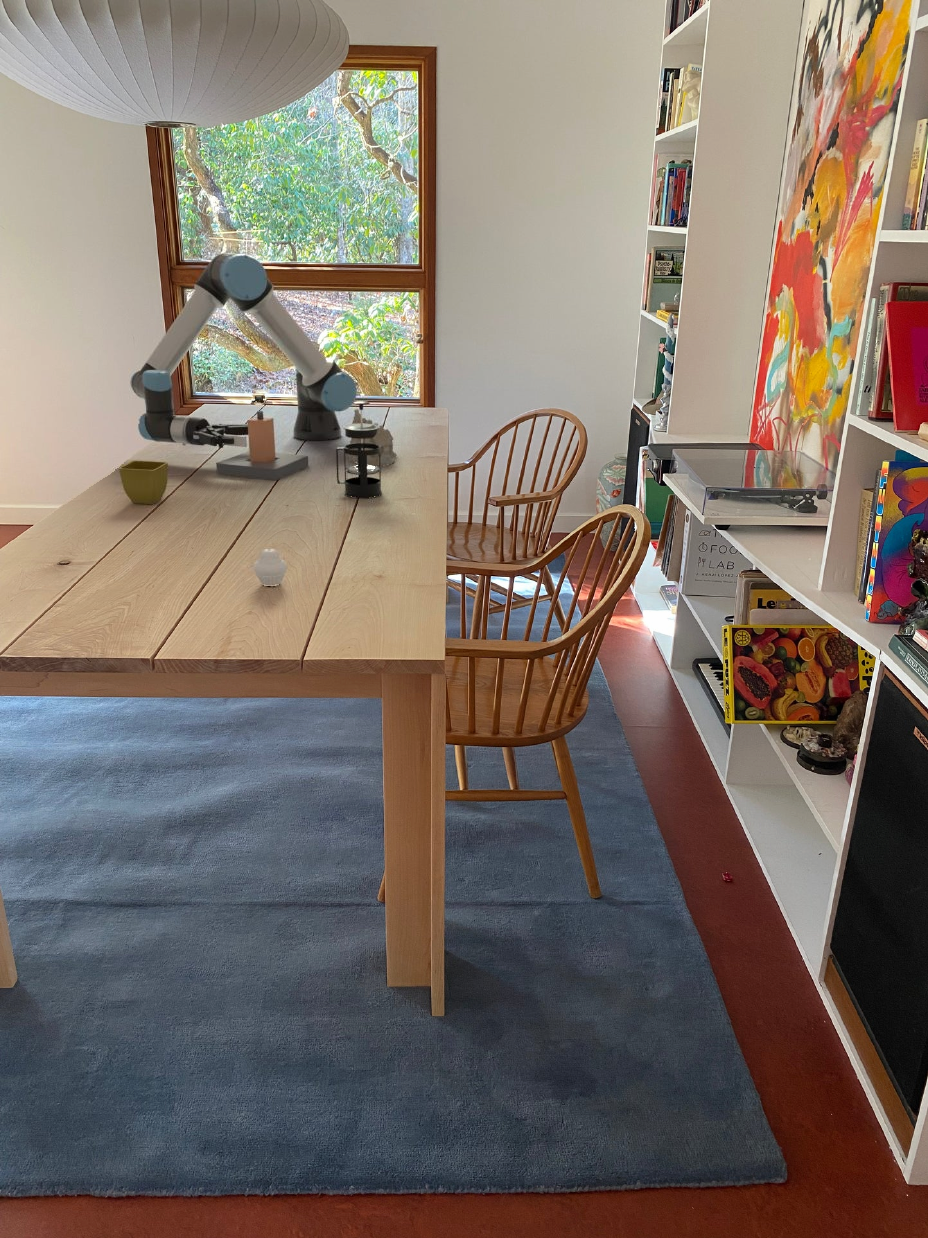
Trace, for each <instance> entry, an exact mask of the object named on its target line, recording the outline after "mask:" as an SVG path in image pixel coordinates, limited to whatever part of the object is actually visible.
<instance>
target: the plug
mask: <svg viewBox="0 0 928 1238" xmlns="http://www.w3.org/2000/svg"><path fill="white" fill-rule="evenodd" d="M247 424H248V435H247V436H248V447H249V448H248V449H249V452H250V461H252V462H262V463H269V462H272V461H274V460H276V457H275V453H276V443H275V442H276V441H275V426H274V425H275V422H274V417H264V411H263V410H257V411H256V417H252V418H248V419H247Z"/></svg>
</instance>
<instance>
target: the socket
mask: <svg viewBox="0 0 928 1238" xmlns="http://www.w3.org/2000/svg"><path fill="white" fill-rule="evenodd" d="M275 457H276V460H274V461H272V462H269V463H262V462H252V461H250V452H249V451H246V452H243V453H240V454H237V455H235V456H232V457H229V458H227V459H224V460H221V461H218V462H216V463H215V466H216V473H217V474H216V475H221V476H223V475H224V476H233V477H241V478H250V479H258V478H261V479H260V480H266V481H267V480H268V481H279V480H280V478H281V479H283V478H285V477H287V476H290V475H292V474H294V473H296V471H297V472H299V471H301V470H303V469H304V470H305V469H306V468H307V466H308V467H309V455H305V454H304V455H303V454H296V453H295V454H293V453H285V452H275Z"/></svg>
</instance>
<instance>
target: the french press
mask: <svg viewBox="0 0 928 1238" xmlns="http://www.w3.org/2000/svg"><path fill="white" fill-rule="evenodd" d="M370 403H371V402H369V401H366V400H355V401H354V402H353V404H352V405H358V407H359V408H358V410H359V411H360V414H361V424H352V423H350V424H345V425H344V426H343V430H344V436H345V437H347V438H356V439H361V443H353V444H350V443H348V444H345V445H343V446H337V447H335V456H336V457H335V458H336V482H337V484H340V485H342V484H344V491H343V492H344V493H345V494H344V496H346V495H347V496H346V497H348V496H352V497H356V498H355V499H360V498H365V499H370V498H369V497H374V496H378V497H380V496H382V494H383V491H382V484H381V483H382V479H381V476H382V474H381V467H382V466H381V464H380V446H379V445H377V444H372V443H363V439H368V438H373V437H375V435H376V433H377V431H378V429H380V425H379V424H378V425H374V424H375V423H372V424H362V418H363V411H364V406H366V405H370ZM356 448H358V450H351V449H356ZM365 448H369V449H373V450H365ZM339 450H340V451H343V458H344V459H343V461H344V463H343V464H344V480H340V479H339V475H340V474H339V452H338V451H339ZM375 454H379V467H376V466H371V465H367V456H368V455H375ZM346 455H348V456H349V455H356V456H358V464H357V465H351V466H347V464H346V463H347V462H346ZM377 473H379V478H377V477H373V476H368V475H375V474H377ZM347 474H350V475H357V476H355V477H354V476H353V477H348V478H347ZM379 495H380V496H379ZM374 498H375V497H374Z"/></svg>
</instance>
